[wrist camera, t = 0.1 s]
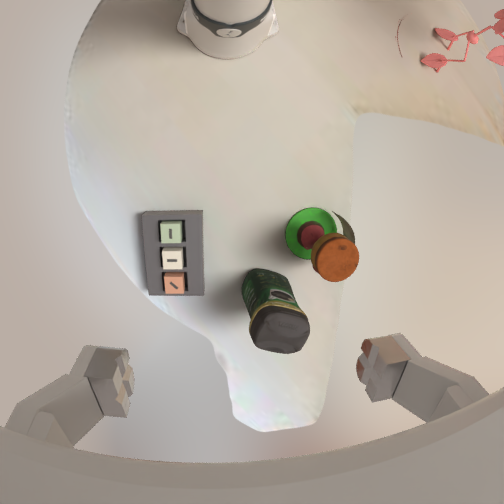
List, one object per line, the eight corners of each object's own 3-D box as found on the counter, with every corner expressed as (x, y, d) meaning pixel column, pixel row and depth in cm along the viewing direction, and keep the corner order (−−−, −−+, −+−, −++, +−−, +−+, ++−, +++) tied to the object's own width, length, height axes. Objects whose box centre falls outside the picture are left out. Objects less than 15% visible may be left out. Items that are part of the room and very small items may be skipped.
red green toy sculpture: (287, 269, 62) (307, 306, 48) (279, 210, 57) (299, 232, 43) (340, 258, 62) (372, 290, 48) (336, 200, 58) (372, 219, 44)
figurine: (458, 34, 45) (559, 11, 13) (427, 97, 52) (553, 90, 19) (416, -8, 42) (509, -55, 9) (377, 51, 48) (497, 2, 15)
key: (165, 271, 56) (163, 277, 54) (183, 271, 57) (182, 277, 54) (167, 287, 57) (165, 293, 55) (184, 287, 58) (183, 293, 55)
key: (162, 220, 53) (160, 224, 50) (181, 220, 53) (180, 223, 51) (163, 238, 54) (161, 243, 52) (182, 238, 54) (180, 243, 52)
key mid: (164, 246, 55) (161, 251, 52) (182, 246, 55) (181, 251, 53) (165, 264, 56) (163, 269, 53) (183, 264, 56) (182, 269, 54)
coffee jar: (236, 296, 63) (245, 352, 45) (249, 263, 60) (263, 311, 43) (279, 307, 65) (299, 363, 47) (293, 276, 62) (320, 325, 45)
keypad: (145, 211, 54) (141, 215, 51) (202, 210, 56) (202, 214, 52) (152, 287, 60) (148, 295, 57) (204, 287, 61) (203, 295, 58)
